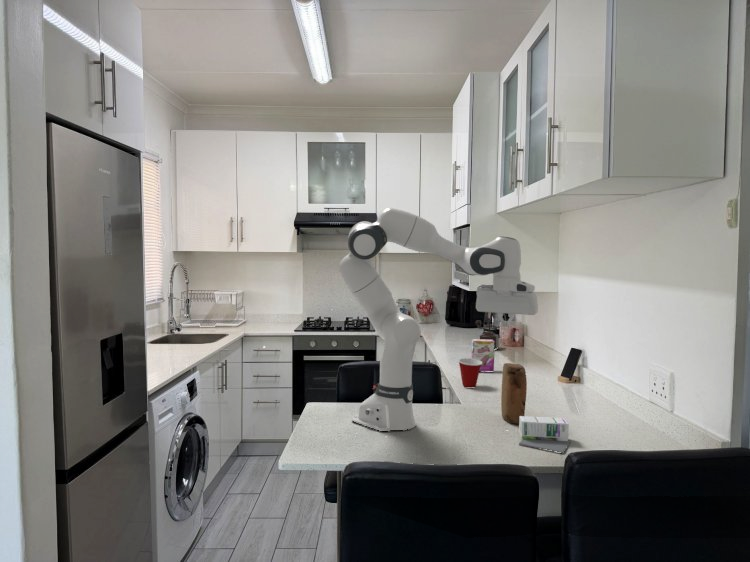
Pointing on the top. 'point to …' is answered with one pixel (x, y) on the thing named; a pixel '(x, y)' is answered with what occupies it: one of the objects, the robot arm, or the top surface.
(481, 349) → the candy bar box
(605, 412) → the top surface
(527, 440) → the mat
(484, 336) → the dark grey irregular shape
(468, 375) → the plastic cup
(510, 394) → the block
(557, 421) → the syrup box
